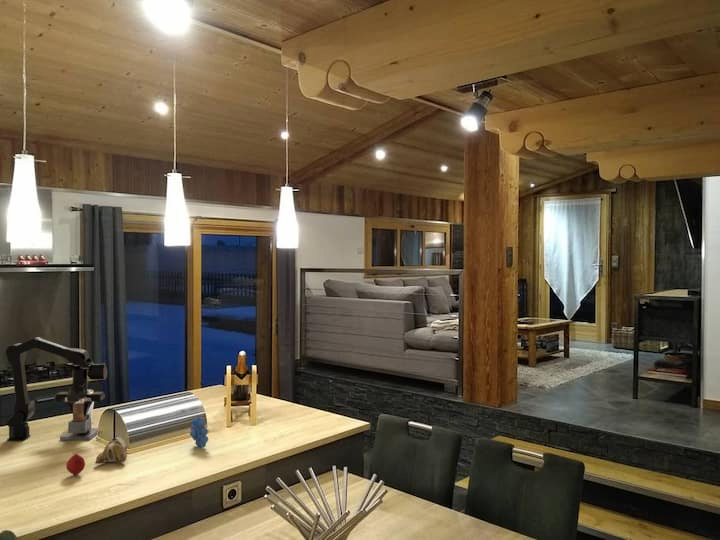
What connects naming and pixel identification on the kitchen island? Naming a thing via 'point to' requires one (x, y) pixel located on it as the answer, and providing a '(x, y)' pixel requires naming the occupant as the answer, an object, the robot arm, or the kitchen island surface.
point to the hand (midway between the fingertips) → (79, 416)
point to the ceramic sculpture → (113, 451)
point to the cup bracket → (80, 430)
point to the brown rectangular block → (79, 412)
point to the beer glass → (91, 404)
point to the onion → (75, 464)
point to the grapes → (199, 432)
